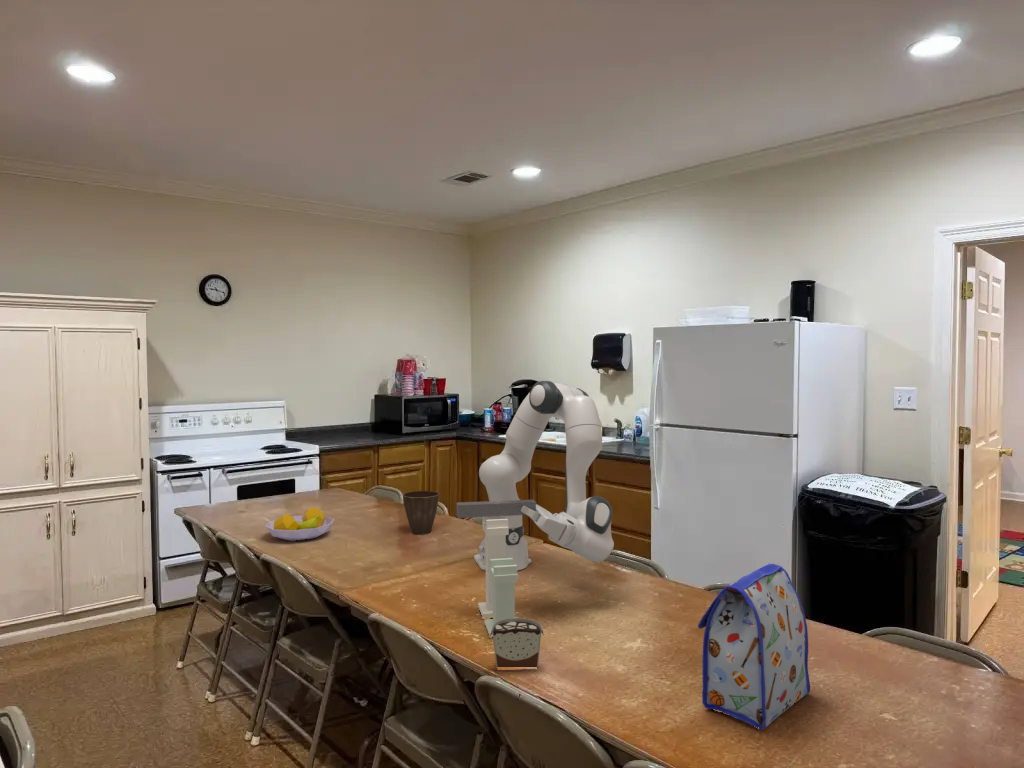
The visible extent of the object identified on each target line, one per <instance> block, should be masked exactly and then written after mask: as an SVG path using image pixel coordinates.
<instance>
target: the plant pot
mask: <svg viewBox="0 0 1024 768" xmlns="http://www.w3.org/2000/svg"><path fill="white" fill-rule="evenodd" d="M439 496H440V493H439V492H437V491H431V490H414V491H407V492H404V493H403V494H402V500H403V506H404V511H405V514H406V518H407V521H408V524H409V527H410V531H411V533H412V534H413V535H427V534H430V533H431V531H432V529H433V526H434V522H435V519H436V515H437V509H438V506H439V505H438V503H439V498H440V497H439Z"/></svg>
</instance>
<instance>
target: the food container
mask: <svg viewBox="0 0 1024 768" xmlns="http://www.w3.org/2000/svg"><path fill="white" fill-rule="evenodd" d="M492 633H493V638H492V639H493V640H492V641H493V649H494V657H495V666H496V668H497V667H538V668H539V660H540V650H541V639H542V636H545V634H544V629H543V627H542V624H541V623H539V621H538V622H537V621H536V620H533V619H530V618H524V617H518V618H510V619H504V620H501V621H498V622H496V623H495V624H494V625H493V627H492V629H491V634H492ZM491 634H490V637H491Z"/></svg>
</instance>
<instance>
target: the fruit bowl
mask: <svg viewBox="0 0 1024 768" xmlns="http://www.w3.org/2000/svg"><path fill="white" fill-rule="evenodd" d="M325 514H326V513H325V512H324V511H323V510H321V509H320V508H318V507H316V506H315V507H311V508H308V509H307V510H306V511H304V513H303V514H302V515H294V516H292V515H291V514H288V513H284V514H282V515H281V516H279V517H278V518H276V519H273V520H270V521H268V523H266V524H265V528H266V529H267V531H268V532H269V533H270V535H271V536H272V537H274V538H278V539H282V540H286V541H289V542H296V540H298V541H306V540H305V539H307V540H314V539H315V538H318V537H320V536H321V535H323V534H325V533H327V532H328V531H330V530H331V528H332V526H333V523H334V521H335V518H333V517H329V516H326V515H325ZM313 538H314V539H313Z"/></svg>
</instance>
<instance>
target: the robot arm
mask: <svg viewBox="0 0 1024 768" xmlns="http://www.w3.org/2000/svg"><path fill="white" fill-rule="evenodd" d="M552 417H553V418H560V419H563V422H564V431H565V443H566V445H565V446H566V448H565V449H566V450H565V451H566V452H565V453H566V454H565V455H566V456H565V467H564V468H565V470H564V472H565V473H564V475H565V476H564V477H565V479H564V480H565V481H564V482H565V505H564V506H565V507H564V510H563V511H561V512H559V513H557V512H555V513H552V512H550V511H548V510H547V509H545V508H544V507H542V506H541V505H539V504H537V503H536V511H534V510H532V509H530V508H528V507H526V506H524V505H522V507H521V509H520V510H521V512H523V513H525V514H526V515H525V516H528V517H529V518H530V519H531V520H532V521H533V523H534V524H535V525H536V526H537V527H538V528H539V529H540V530H541V531H542V532H544V533H545V534H547V538H548V540H549V541H551V542H553V543H554V544H557V545H558V546H560V547H562V548H565V549H568V550H571V551H572V552H573V553H574V554H576V555H577V556H579V557H581V558H583V559H585V560H588V561H591V562H592V563H600V562H601V563H602V562H603V561H605V560H607V558H609V557H610V556H611V554H612V552H613V550H614V546H615V542H614V540H613V539H614V538H612V537H613V536H612V520H613V517H614V512H613V511H614V510H613V507H612V505H611V504H610V502H609V501H608V499H606V498H604V497H602V496H600V495H594V496H591V497H588V498H587V488H586V487H587V485H586V480H587V479H586V478H587V473H588V470H589V468H590V466H591V465H592V463H593V462H594V460H595V459H596V457H597V456H598V455H599V454H600V452H601V450H602V446H603V434H602V425H601V420H600V415H599V412H598V408H597V406H596V403H595V401H594V399H593V398H592V397H590V395H589V394H588V393H587V392H586V391H584V390H582V388H578V387H575V386H572V385H568V384H565V383H560V382H552V380H551V381H550V380H540V381H537V382H536V383H534V385H533V386H532V387H531V389H530V391H529V392H528V394H527V395H526V396H525V398H524V399H523V400H522V402H521V403H520V405H519V406H518V409H517V410H516V413H515V414H514V416H513V418H512V419H511V420H512V421H511V422H510V424H509V427H508V428H507V430H506V432H505V437H506V439H505V440H506V441H505V445H504V448H503V450H502V451H501V453H500V454H496V455H492V456H490V457H489V458H487V459H486V460H485V461H484V462H482V463H481V465H480V467H479V471H478V476H479V479H480V482H481V483H482V484H483V485H484V486H485V489H486V493H487V496H488V500H489V501H509V500H521V499H520V498H519V494H518V492H517V491H518V490H517V487H516V484H517V483H518V482H521V481H523V480H524V479H525V478H526V477H527V476H528V475H529V474H530V472H531V469H532V460H533V455H534V453H535V449H536V448H537V445H538V443H539V440H540V439H541V437H542V435H543V433H544V430H546V427H547V425H548V423H549V421H550V419H551V418H552ZM504 519H508V527H509V535H506V558H512V559H513V565H517V571H521V570H524V569H525V568H528V565H530V564H531V563H532V558H530V557H529V552H528V551H529V550H528V541H527V539H526V538H525V537H524V535H525V532H524V531H525V528H524V524H523V515H513V516H504ZM477 551H478V553H477V554H474V555H473V559H474V561H475V562H476V564H477V565H478V566H479V568H480V569H481V570H483V571H486V561H485V538H484V539H483V540H482V541H481V542H480V545H479V546H478V547H477Z"/></svg>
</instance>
